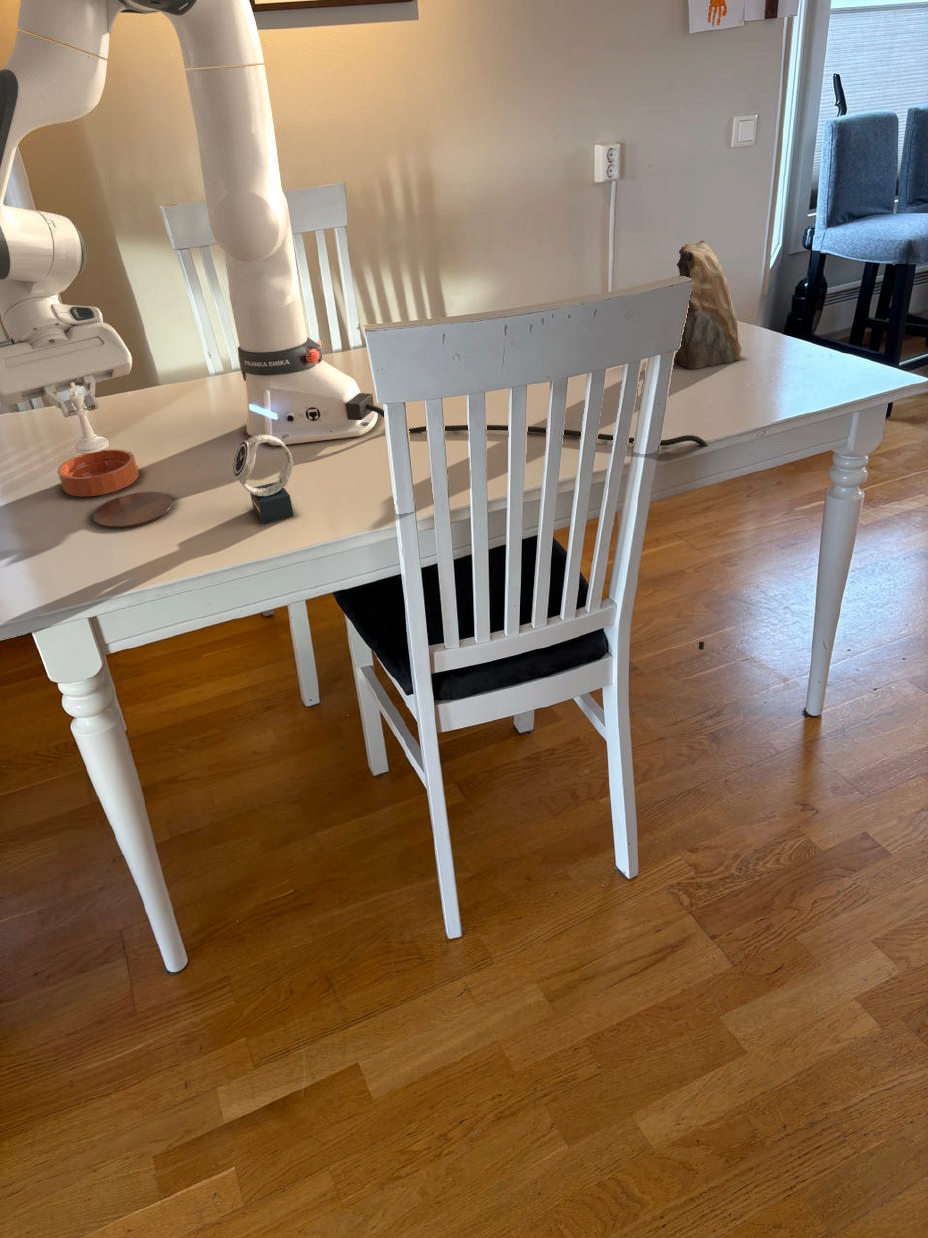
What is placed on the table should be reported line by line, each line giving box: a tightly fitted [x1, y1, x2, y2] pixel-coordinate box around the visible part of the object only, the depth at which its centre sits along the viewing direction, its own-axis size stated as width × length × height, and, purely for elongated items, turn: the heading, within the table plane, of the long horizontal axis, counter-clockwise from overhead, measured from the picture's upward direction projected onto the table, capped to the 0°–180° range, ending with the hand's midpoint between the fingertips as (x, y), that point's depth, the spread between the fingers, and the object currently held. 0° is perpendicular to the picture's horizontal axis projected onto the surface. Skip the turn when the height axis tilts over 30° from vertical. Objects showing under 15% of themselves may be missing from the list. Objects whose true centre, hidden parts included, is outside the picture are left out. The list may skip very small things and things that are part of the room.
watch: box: [232, 435, 295, 524], centre depth 123 cm, size 6×8×11 cm
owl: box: [674, 239, 743, 370], centre depth 166 cm, size 13×13×20 cm
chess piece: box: [67, 382, 110, 455], centre depth 133 cm, size 5×5×10 cm
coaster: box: [92, 491, 174, 530], centre depth 130 cm, size 11×11×1 cm
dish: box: [56, 448, 140, 497], centre depth 138 cm, size 11×11×3 cm
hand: (82, 411), depth 133 cm, fingers closed on chess piece
